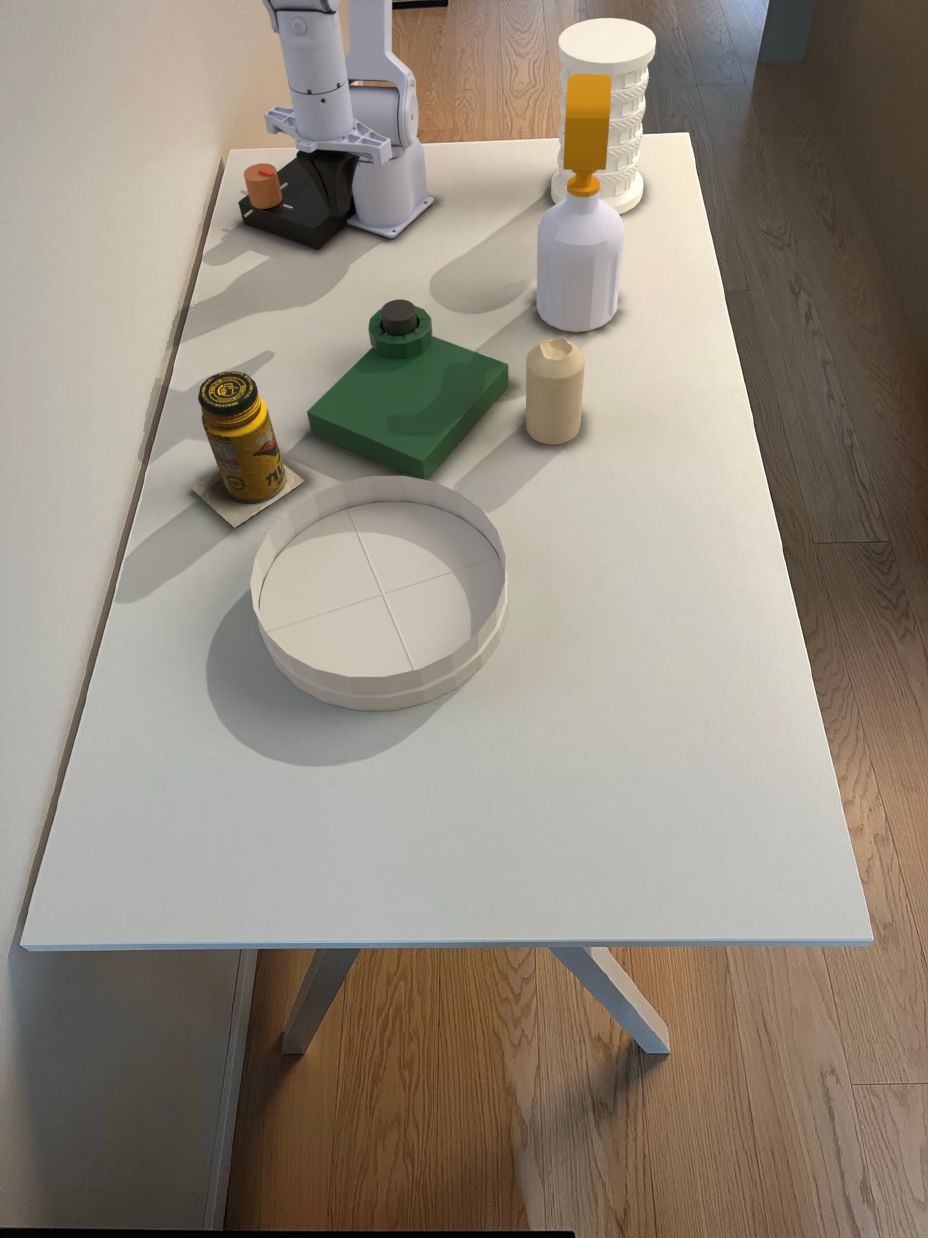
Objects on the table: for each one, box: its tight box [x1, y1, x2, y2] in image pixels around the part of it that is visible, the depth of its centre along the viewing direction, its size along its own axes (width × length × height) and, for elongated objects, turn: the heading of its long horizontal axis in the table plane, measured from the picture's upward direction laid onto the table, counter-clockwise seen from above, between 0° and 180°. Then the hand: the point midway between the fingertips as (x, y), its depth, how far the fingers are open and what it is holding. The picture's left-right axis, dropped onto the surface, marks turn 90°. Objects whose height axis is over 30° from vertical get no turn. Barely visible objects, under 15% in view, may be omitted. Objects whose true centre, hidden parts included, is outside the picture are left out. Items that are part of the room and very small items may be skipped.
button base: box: [306, 305, 510, 480], centre depth 97 cm, size 17×15×5 cm
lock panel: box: [237, 156, 356, 251], centre depth 121 cm, size 18×13×3 cm
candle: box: [525, 336, 586, 446], centre depth 92 cm, size 6×6×10 cm
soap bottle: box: [536, 75, 625, 333], centre depth 97 cm, size 9×9×25 cm
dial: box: [243, 162, 282, 209], centre depth 116 cm, size 4×4×4 cm
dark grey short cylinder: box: [380, 298, 417, 336], centre depth 99 cm, size 4×4×2 cm
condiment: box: [191, 370, 305, 529], centre depth 89 cm, size 7×8×12 cm
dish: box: [249, 475, 509, 712], centre depth 82 cm, size 22×22×5 cm
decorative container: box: [550, 17, 657, 215], centre depth 113 cm, size 12×12×18 cm
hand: (339, 211), depth 102 cm, fingers closed
